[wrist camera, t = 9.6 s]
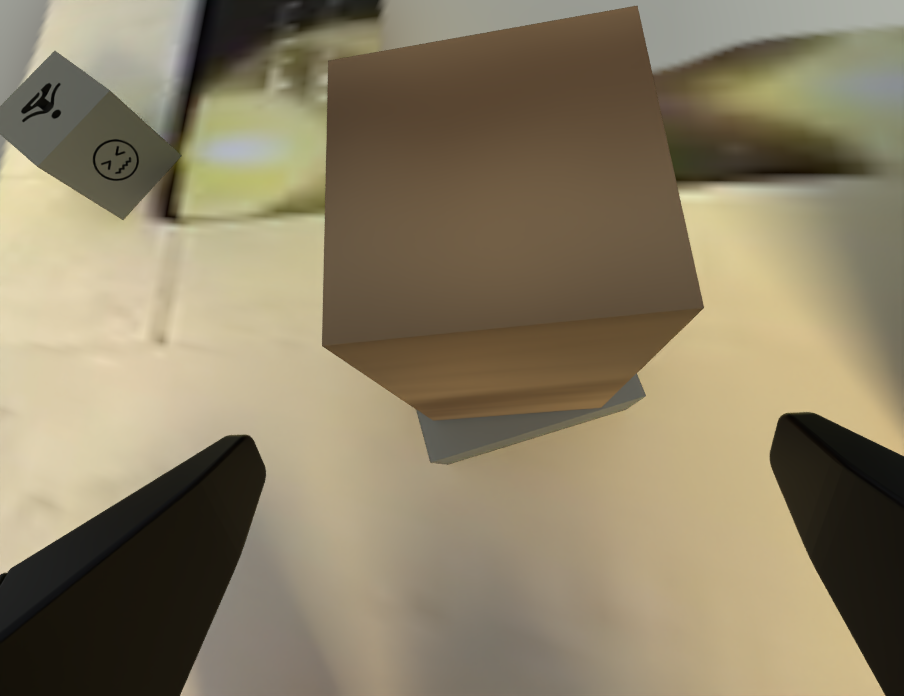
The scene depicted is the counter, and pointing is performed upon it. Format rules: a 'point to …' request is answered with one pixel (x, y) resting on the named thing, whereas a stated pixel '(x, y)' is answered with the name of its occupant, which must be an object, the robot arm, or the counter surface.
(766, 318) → the counter surface
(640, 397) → the charcoal base block
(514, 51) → the walnut block
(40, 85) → the dice cube
